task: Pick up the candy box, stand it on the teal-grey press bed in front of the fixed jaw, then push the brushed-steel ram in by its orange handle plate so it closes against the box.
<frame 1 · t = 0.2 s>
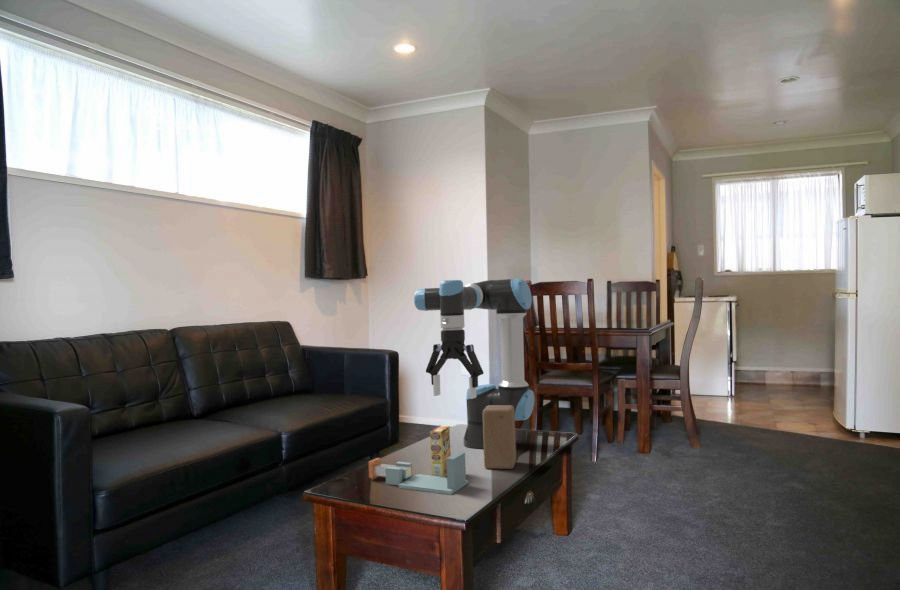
hand: (454, 396, 189), 27 cm above the table, fingers open, 13 cm apart
ram: (390, 469, 194), point 3 cm above the table, slide at 0.0 cm
press: (425, 484, 188), on the table
candy box: (441, 475, 198), on the table
wooden block: (500, 466, 207), on the table
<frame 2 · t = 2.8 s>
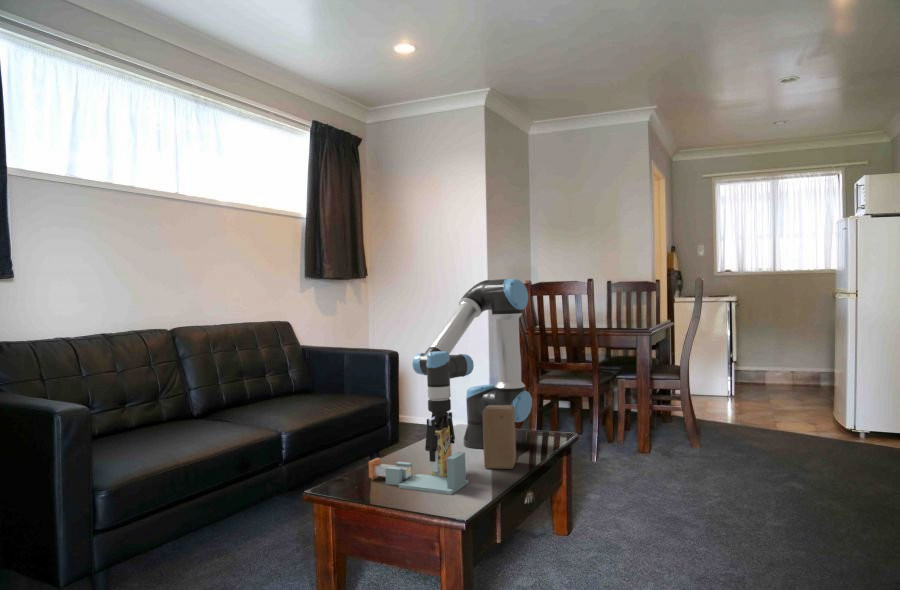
hand: (441, 467, 198), 3 cm above the table, fingers closed on candy box, 9 cm apart
candy box: (441, 475, 198), on the table, touching gripper
everything else where it was.
when the fingers open (4 cm above the table, at t = 7.5 s): candy box stays where it is, resting on press.
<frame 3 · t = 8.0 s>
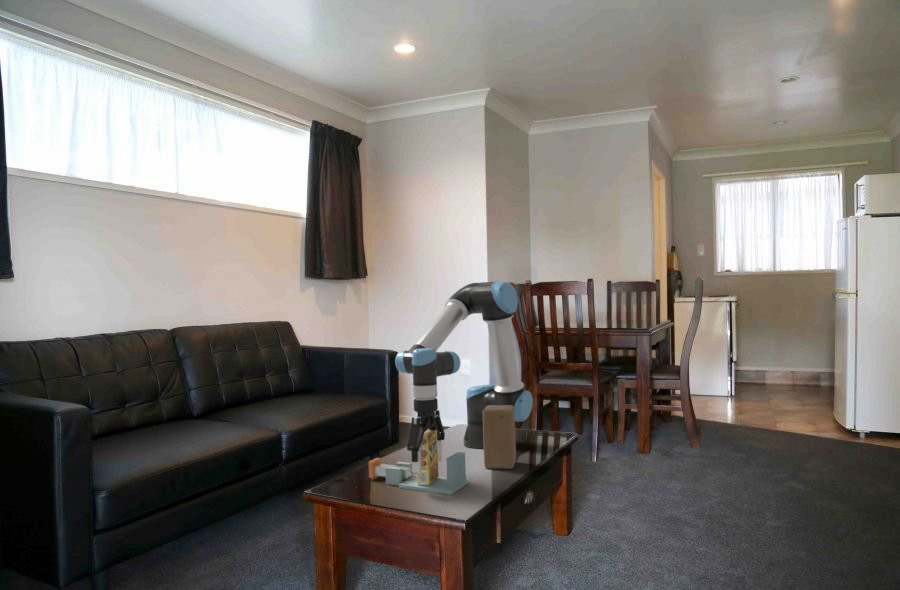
hand: (427, 466, 188), 6 cm above the table, fingers open, 13 cm apart
candy box: (428, 482, 188), point 1 cm above the table, touching press
everything else where it was.
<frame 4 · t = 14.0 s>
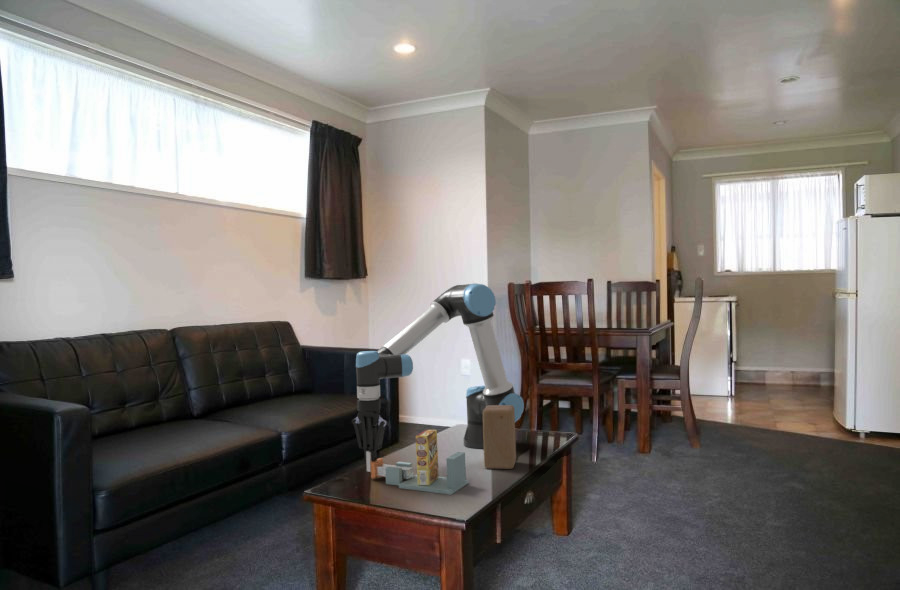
hand: (370, 470, 197), 2 cm above the table, fingers closed
ram: (392, 469, 194), point 3 cm above the table, slide at 0.9 cm, touching gripper
everything else where it was.
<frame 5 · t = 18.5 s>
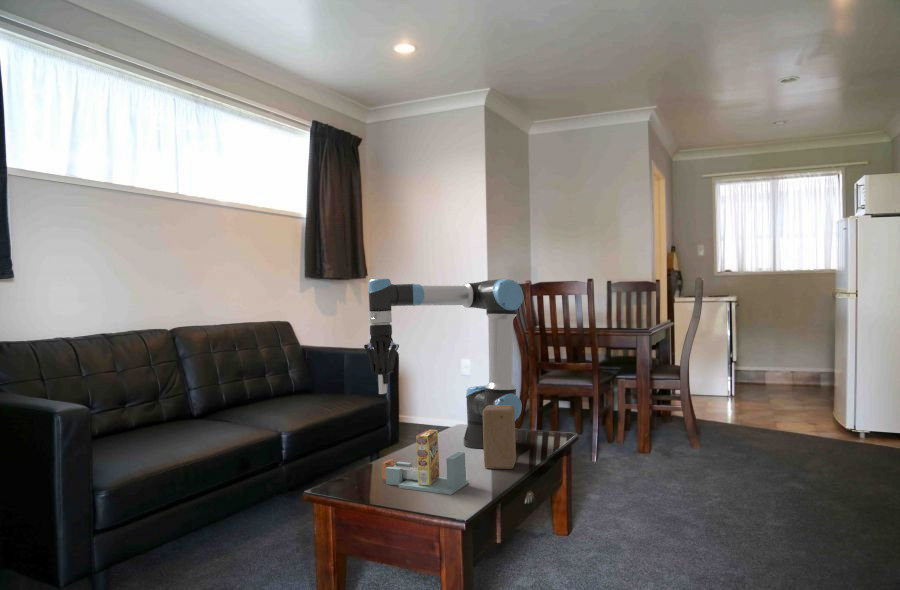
hand: (382, 393, 205), 26 cm above the table, fingers closed
ram: (403, 471, 192), point 3 cm above the table, slide at 5.0 cm
everything else where it was.
at the end: candy box inside the target area (1.7 cm from its centre), point 0.8 cm above the table; candy box tilted 0°; ram slide at 5.0 cm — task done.
